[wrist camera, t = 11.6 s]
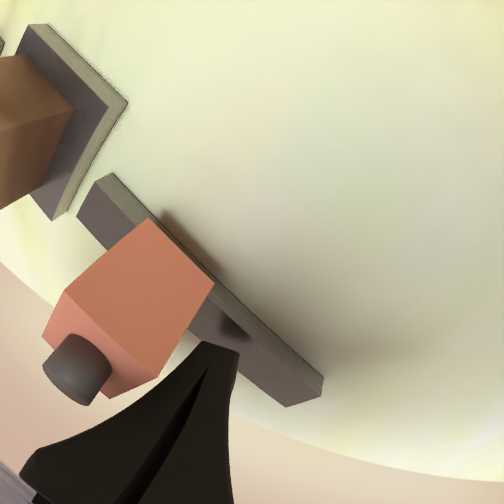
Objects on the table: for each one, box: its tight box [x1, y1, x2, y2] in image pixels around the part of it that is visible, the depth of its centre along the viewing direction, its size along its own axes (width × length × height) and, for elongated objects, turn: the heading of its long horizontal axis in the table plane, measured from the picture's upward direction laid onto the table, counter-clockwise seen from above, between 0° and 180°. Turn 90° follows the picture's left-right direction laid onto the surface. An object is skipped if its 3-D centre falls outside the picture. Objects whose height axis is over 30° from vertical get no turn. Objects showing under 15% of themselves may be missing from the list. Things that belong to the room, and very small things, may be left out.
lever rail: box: [76, 173, 324, 408], centre depth 12 cm, size 12×2×1 cm, turn 45°
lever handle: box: [42, 217, 215, 406], centre depth 9 cm, size 3×4×5 cm
